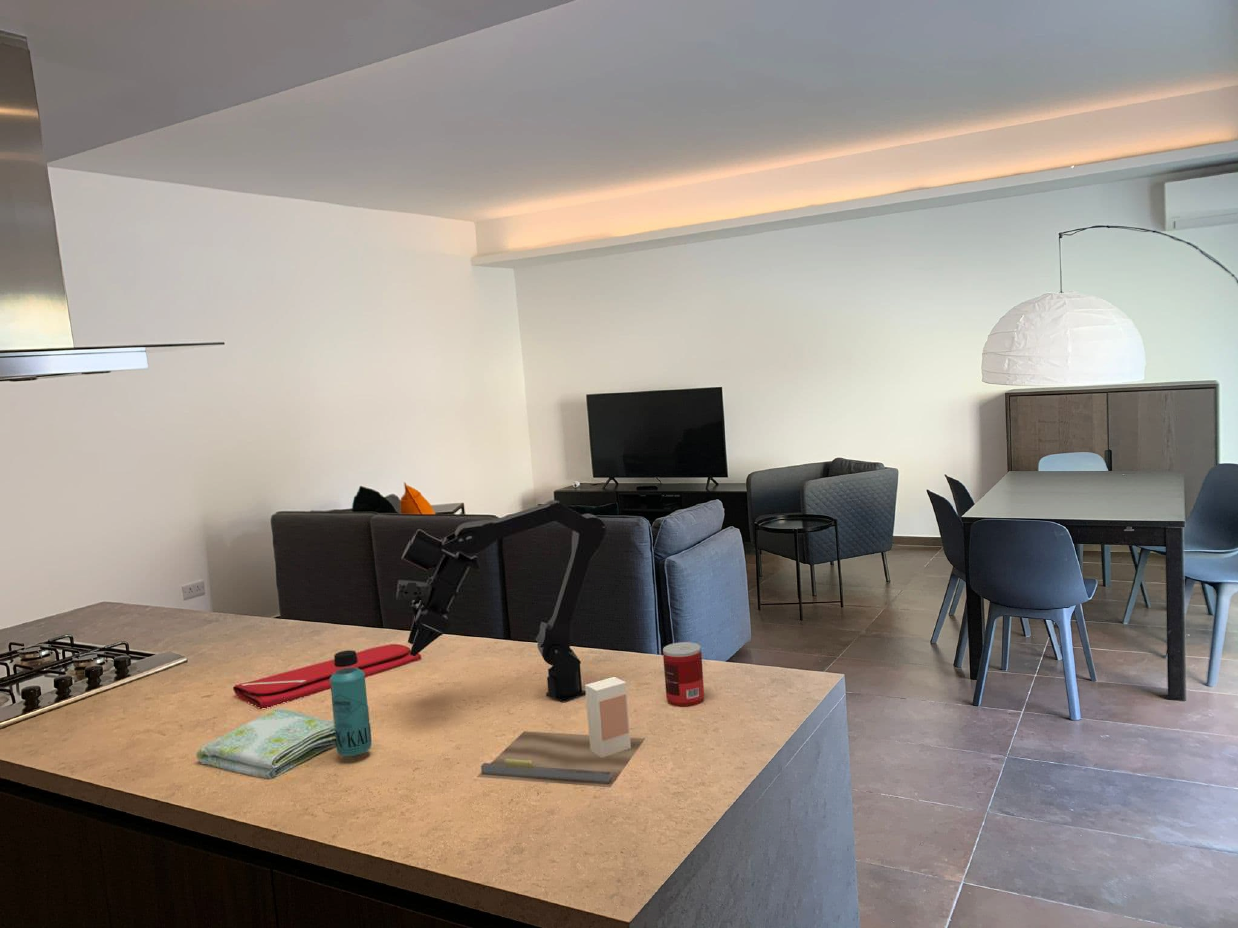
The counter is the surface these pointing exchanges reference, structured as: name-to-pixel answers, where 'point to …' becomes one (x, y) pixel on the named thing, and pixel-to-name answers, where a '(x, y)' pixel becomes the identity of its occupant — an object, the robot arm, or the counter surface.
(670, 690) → the canned food
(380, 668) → the dish drying mat
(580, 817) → the counter surface
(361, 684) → the beverage bottle
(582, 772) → the price rail
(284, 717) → the towel
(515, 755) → the shelf board
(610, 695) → the cream box
